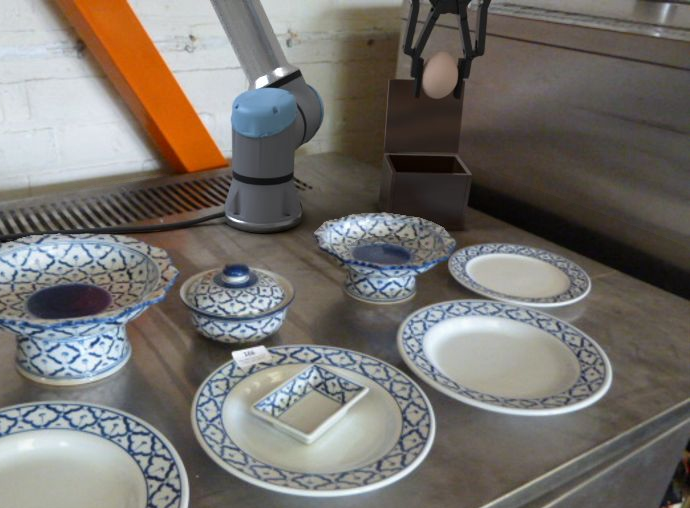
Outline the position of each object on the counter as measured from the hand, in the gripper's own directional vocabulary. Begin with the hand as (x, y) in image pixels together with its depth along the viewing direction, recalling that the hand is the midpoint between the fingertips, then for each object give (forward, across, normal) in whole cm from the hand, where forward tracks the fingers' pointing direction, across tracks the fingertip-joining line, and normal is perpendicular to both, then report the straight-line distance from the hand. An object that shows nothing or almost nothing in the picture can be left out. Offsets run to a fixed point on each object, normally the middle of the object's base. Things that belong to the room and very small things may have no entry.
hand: (436, 96), depth 119 cm
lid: (+5, 0, +8) cm, 9 cm away
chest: (+23, 0, 0) cm, 23 cm away
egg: (0, 0, 0) cm, 0 cm away
